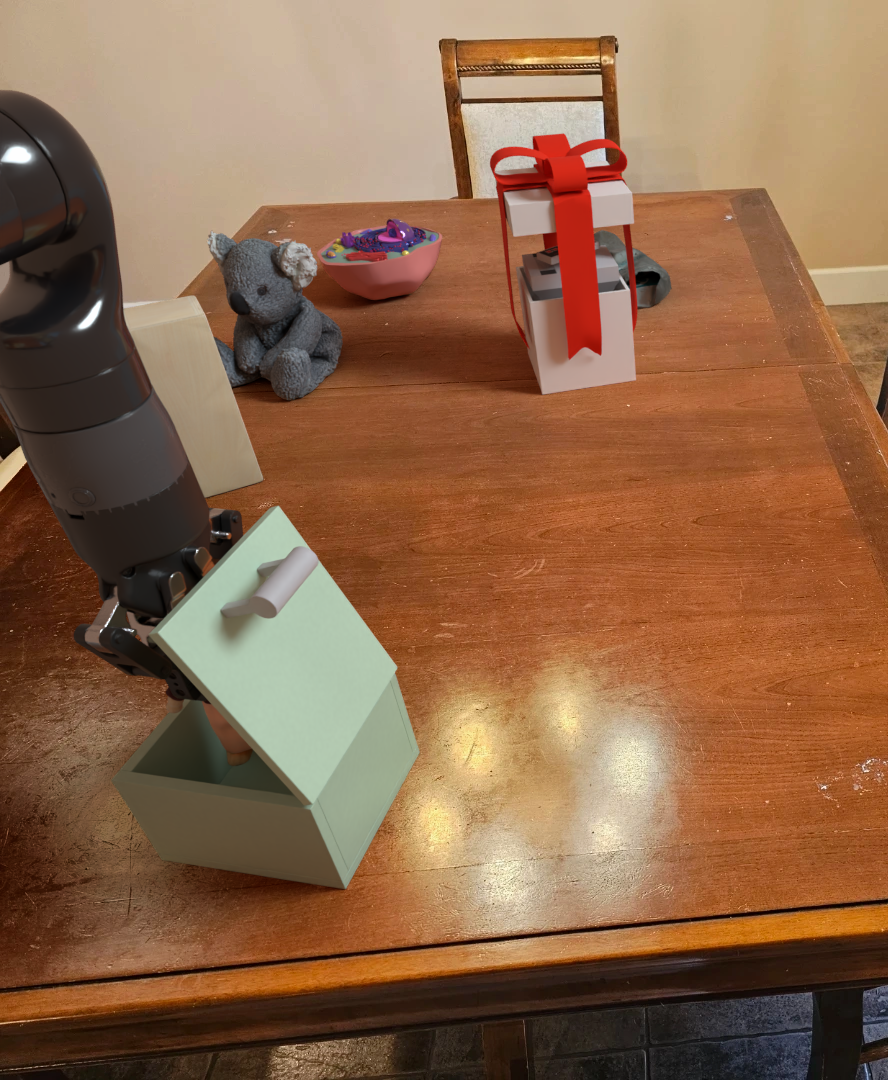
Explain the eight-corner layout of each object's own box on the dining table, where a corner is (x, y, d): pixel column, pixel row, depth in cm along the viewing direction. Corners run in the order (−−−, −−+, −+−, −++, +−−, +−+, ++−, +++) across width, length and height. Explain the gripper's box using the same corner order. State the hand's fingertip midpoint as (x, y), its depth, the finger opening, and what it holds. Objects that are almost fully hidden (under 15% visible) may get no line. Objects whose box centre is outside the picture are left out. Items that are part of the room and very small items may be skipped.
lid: (147, 634, 53) (212, 622, 51) (269, 507, 63) (327, 493, 61) (303, 805, 61) (364, 799, 60) (390, 669, 71) (443, 660, 70)
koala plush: (195, 390, 128) (140, 250, 116) (277, 336, 141) (236, 206, 129) (303, 406, 124) (259, 264, 112) (377, 349, 138) (344, 217, 126)
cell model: (311, 293, 154) (292, 225, 148) (420, 263, 165) (407, 199, 158) (356, 324, 144) (337, 253, 138) (469, 290, 155) (457, 223, 148)
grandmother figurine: (301, 716, 73) (253, 591, 65) (305, 751, 70) (255, 625, 62) (194, 748, 70) (130, 621, 63) (193, 785, 67) (127, 657, 60)
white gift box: (625, 334, 141) (609, 124, 123) (653, 384, 128) (640, 158, 110) (513, 350, 137) (479, 135, 119) (530, 403, 124) (496, 172, 106)
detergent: (682, 305, 149) (637, 250, 168) (678, 263, 145) (631, 211, 163) (604, 324, 146) (567, 266, 164) (597, 281, 142) (559, 227, 160)
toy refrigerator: (253, 453, 114) (193, 291, 102) (266, 480, 110) (205, 314, 97) (183, 473, 111) (112, 307, 98) (193, 502, 106) (120, 332, 93)
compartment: (161, 860, 69) (110, 780, 63) (257, 729, 79) (220, 650, 73) (345, 889, 67) (310, 809, 61) (420, 752, 77) (395, 672, 71)
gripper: (137, 406, 60) (224, 604, 71) (-37, 535, 49) (96, 747, 60) (242, 415, 59) (315, 615, 70) (89, 549, 48) (202, 762, 59)
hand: (214, 675), depth 65 cm, fingers closed on grandmother figurine, 3 cm apart
